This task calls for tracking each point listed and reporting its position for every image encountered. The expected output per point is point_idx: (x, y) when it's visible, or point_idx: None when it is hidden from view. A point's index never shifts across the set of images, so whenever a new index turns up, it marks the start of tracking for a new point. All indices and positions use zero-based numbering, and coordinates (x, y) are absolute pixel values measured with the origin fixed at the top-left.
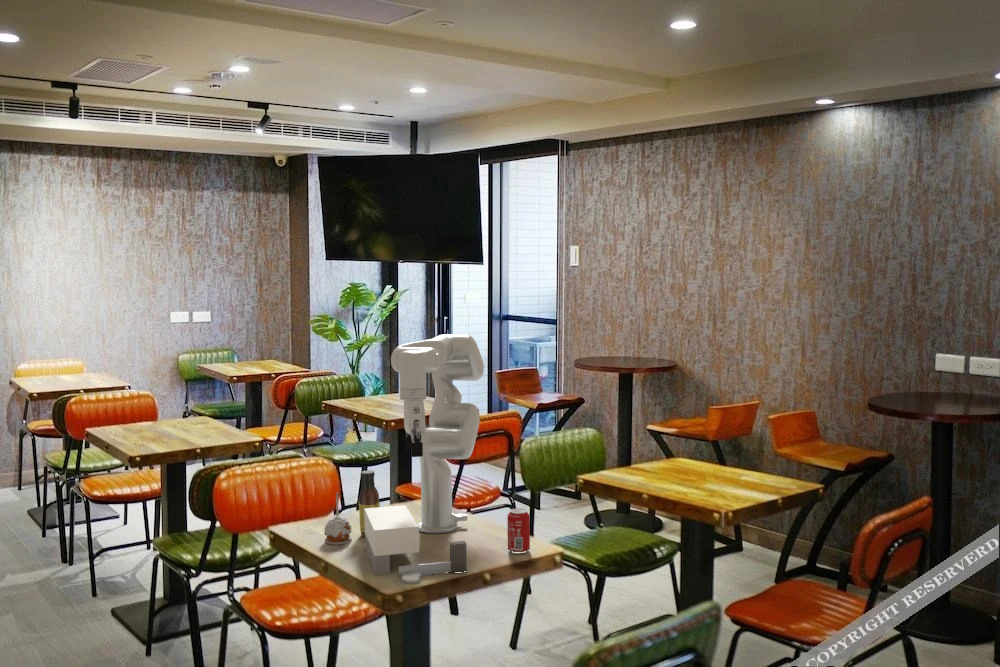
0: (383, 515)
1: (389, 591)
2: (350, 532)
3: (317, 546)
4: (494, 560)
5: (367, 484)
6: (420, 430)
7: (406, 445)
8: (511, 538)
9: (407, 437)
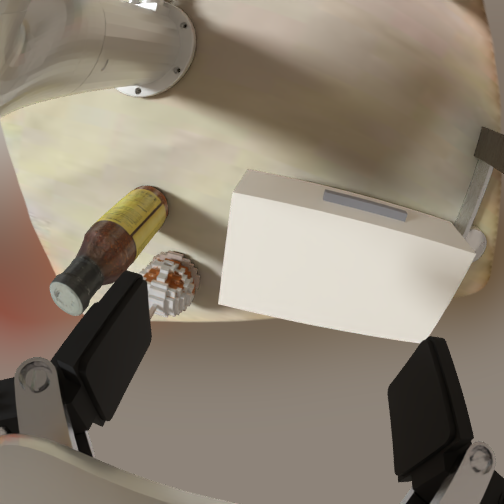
0: (319, 291)
1: (478, 287)
2: (173, 264)
3: (189, 306)
4: (460, 38)
5: (99, 285)
6: None
7: (135, 366)
8: None
9: (107, 418)
